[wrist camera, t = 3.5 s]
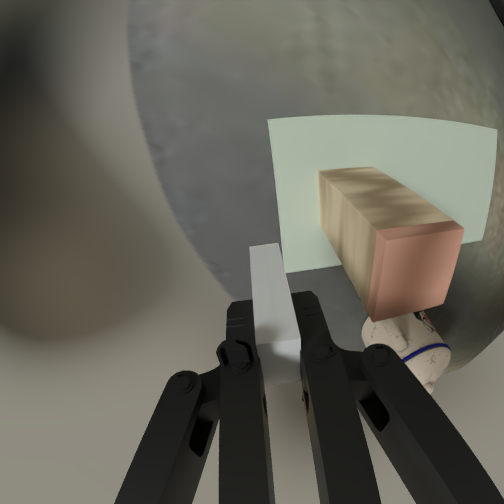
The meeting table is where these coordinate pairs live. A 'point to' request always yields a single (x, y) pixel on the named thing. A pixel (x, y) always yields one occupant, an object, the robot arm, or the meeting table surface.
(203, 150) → the meeting table surface
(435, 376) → the teacup with lid
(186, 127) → the meeting table surface
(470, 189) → the rubber mat
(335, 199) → the oak block
